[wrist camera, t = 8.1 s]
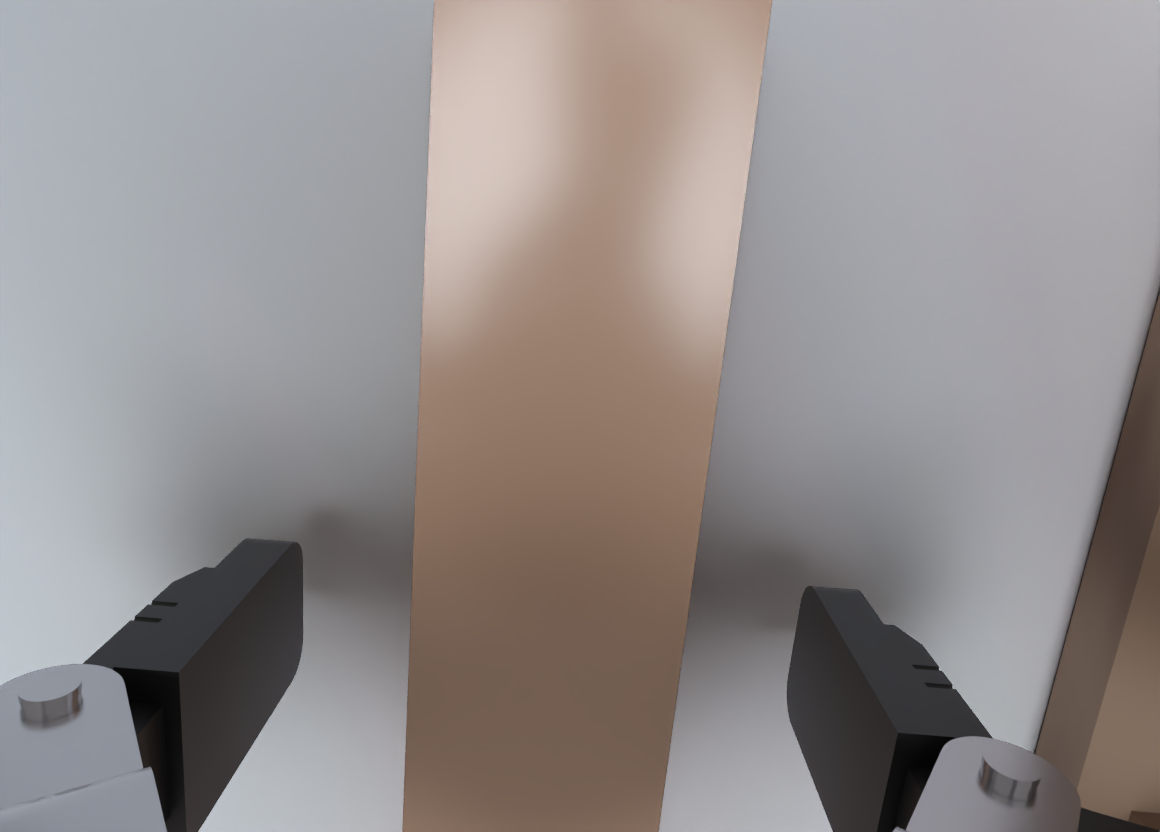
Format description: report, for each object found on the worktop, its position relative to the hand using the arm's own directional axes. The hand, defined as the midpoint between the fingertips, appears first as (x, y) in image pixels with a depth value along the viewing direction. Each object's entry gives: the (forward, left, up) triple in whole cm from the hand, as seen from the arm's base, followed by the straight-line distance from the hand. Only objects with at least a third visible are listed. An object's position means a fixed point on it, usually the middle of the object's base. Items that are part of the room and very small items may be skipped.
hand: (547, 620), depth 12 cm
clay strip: (-1, 0, -2) cm, 2 cm away
